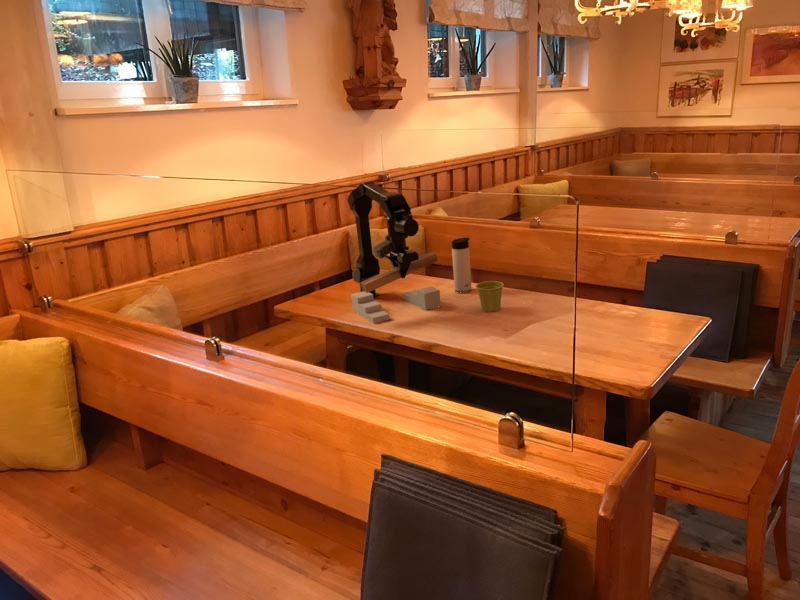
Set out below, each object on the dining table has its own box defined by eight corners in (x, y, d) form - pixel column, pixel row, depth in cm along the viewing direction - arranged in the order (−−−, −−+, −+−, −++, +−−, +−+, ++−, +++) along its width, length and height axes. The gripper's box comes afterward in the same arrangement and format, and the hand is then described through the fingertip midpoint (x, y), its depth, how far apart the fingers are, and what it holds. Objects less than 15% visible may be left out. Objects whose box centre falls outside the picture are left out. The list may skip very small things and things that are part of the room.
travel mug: (471, 293, 248) (468, 240, 242) (453, 293, 249) (450, 240, 243) (473, 288, 254) (470, 236, 248) (455, 288, 255) (452, 236, 249)
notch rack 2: (402, 298, 250) (401, 282, 248) (416, 294, 252) (415, 279, 250) (425, 310, 234) (424, 293, 232) (440, 306, 237) (439, 290, 235)
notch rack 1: (352, 310, 242) (350, 294, 240) (368, 306, 244) (366, 290, 242) (373, 323, 226) (371, 306, 224) (389, 319, 229) (387, 302, 227)
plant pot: (471, 311, 229) (469, 286, 226) (487, 303, 236) (486, 279, 233) (494, 315, 223) (492, 290, 220) (510, 307, 229) (509, 283, 227)
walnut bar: (362, 290, 227) (360, 282, 226) (432, 259, 236) (430, 251, 235) (367, 292, 224) (364, 284, 223) (437, 261, 233) (435, 253, 232)
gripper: (363, 232, 230) (368, 276, 235) (386, 241, 214) (391, 288, 219) (392, 226, 235) (396, 269, 239) (417, 234, 219) (421, 281, 223)
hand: (400, 277), depth 230 cm, fingers closed on walnut bar, 3 cm apart
